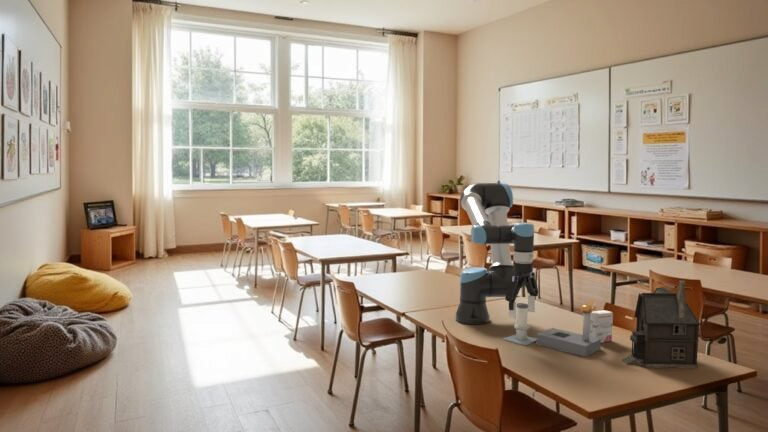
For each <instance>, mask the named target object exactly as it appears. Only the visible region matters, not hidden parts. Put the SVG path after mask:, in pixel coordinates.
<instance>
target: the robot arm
mask: <svg viewBox="0 0 768 432" xmlns="http://www.w3.org/2000/svg"><path fill="white" fill-rule="evenodd" d="M513 199H514V196H513V191H512V188H511V186H510V185H509V184H507V183H503V182H482V183H481V182H476V183H472V184H470V185H468V186H467V187H466V188H465V189H464V190H462V192H461V194H460V197H459V201H460V205H461V208H462V209H463V210H464V211H466V213H467V214H466V215H467V216H468V218H469V220H470V222H471V225H472V227H471V229H470V238H471V242H472V243H473V244H479V245H490V251H491V252H490V254H491V265H490V266H489V269H488V270H487V268H485V267H479V266H477V267H469V268H465V269H463V270H461V272H460V274H459V275H460V276H459V277H460V278H459V305H458V307H457V309H456V313H455V321H457V322H458V323H463V324H465V325H466V324H467V325H483V324H487V323H489V322H490V320H491V319H490V317H491V316H490V314H489V309H488V306H487V298H505V301H506V302H508V318H510V319H515V320H516V318H517V301H516V300H517V297H518V295H519V292H520V290H521V289H522V288H523V287H525V288H526V290H527V292H528V294H529V295H527V304H528V312H529V313H535V310H536V307H535V306H536V297H538V295H539V288H538V284H537V281H536V280H537V279H536V273H535V272H534V263H533V262H534V248H535V247H534V243H535V242H534V241H535V225H534V224H533V223H531V222H516V223H515V224H508V213H509V211H510V208H512V207H513V204H514V200H513ZM510 244H511V245H512V244H513V259H512V255H511V245H510ZM512 260H513V263H512Z"/></svg>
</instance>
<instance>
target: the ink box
mask: <svg viewBox="0 0 768 432" xmlns="http://www.w3.org/2000/svg"><path fill="white" fill-rule="evenodd" d="M613 321H614V313H613V312H612V311H609V310H605V309H603V310H596V311H593V310H592V313H590V334H589V336H590V337H594V338H598V339H601V343H608V342H612V340H613V325H614V324H613Z"/></svg>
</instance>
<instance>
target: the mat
mask: <svg viewBox="0 0 768 432" xmlns="http://www.w3.org/2000/svg"><path fill="white" fill-rule="evenodd" d="M503 341H506V342H507V341H508V342H510V343H515V344H518V345H522V346H528V345H531V344H532V343H536V342H537V337H536V338H535V337H532V336H528V335H527V340H524V341H521V340H517V339H516V333H515V334H513V335H509V336H507V337H504V338H503Z"/></svg>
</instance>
